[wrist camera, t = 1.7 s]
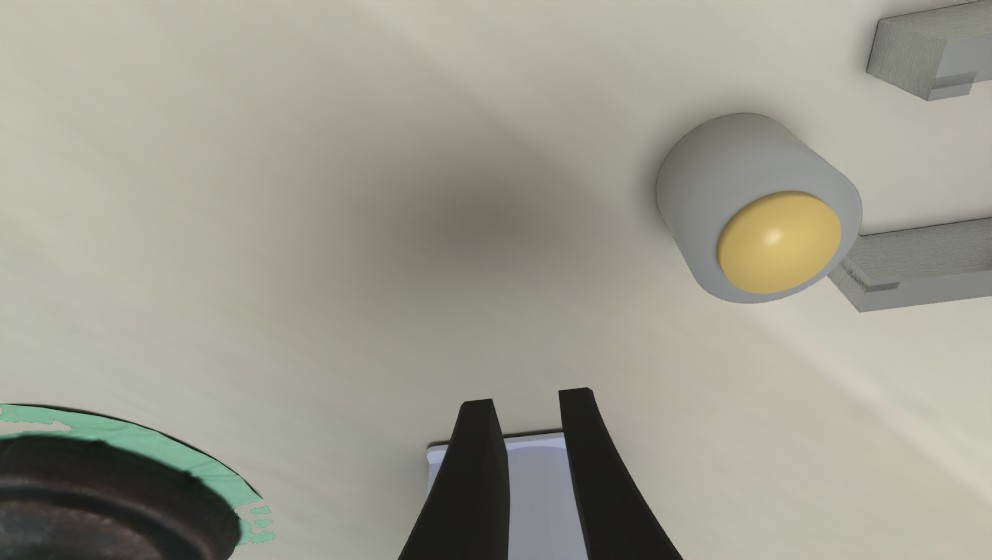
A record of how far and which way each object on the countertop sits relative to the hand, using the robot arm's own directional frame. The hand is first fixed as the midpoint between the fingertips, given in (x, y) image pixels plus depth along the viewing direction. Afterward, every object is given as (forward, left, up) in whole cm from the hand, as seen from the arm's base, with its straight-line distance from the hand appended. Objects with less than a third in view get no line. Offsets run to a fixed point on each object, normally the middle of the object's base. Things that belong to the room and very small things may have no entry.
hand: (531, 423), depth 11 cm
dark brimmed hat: (-28, -16, -10) cm, 34 cm away
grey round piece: (+7, 0, -10) cm, 12 cm away
